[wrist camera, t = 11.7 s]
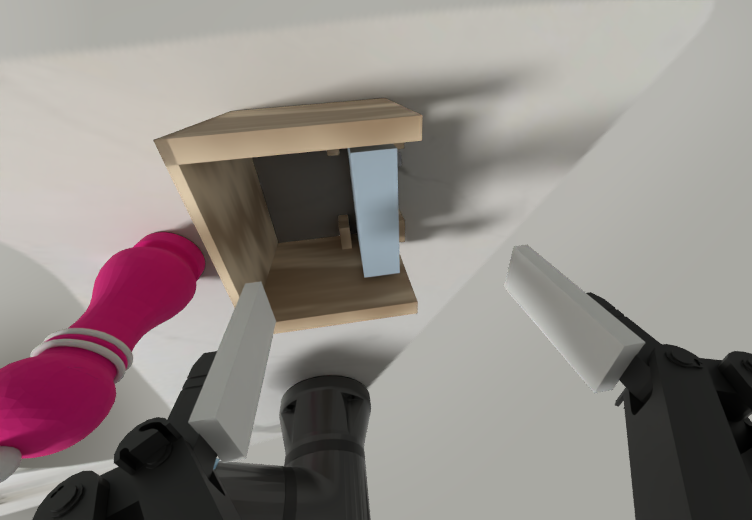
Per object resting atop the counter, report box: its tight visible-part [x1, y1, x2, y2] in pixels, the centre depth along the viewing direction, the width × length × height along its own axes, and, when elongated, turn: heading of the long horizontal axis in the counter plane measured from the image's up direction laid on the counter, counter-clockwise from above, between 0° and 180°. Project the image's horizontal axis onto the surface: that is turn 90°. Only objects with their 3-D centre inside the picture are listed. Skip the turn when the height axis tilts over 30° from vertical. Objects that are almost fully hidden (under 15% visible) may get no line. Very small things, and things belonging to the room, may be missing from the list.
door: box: [347, 143, 402, 278], centre depth 24 cm, size 10×4×9 cm, turn 4°
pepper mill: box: [0, 232, 205, 483], centre depth 21 cm, size 7×7×20 cm
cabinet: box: [153, 98, 422, 334], centre depth 23 cm, size 15×14×12 cm
